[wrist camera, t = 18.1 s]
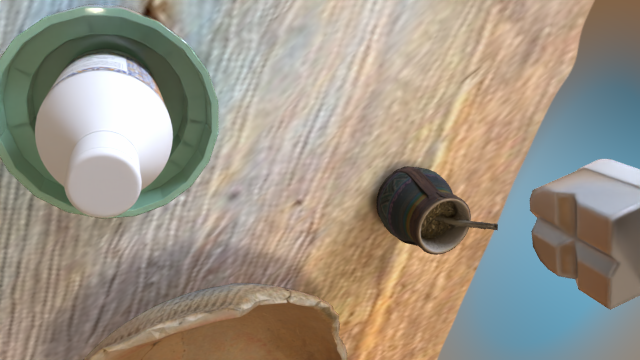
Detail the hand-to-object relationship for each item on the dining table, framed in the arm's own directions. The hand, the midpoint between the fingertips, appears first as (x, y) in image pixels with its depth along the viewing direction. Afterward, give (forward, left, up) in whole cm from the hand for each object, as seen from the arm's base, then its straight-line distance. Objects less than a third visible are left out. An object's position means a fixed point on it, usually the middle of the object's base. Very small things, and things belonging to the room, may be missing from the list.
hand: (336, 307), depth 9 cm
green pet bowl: (+2, -5, -35) cm, 35 cm away
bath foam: (+1, -5, -35) cm, 35 cm away
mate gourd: (+19, +17, -35) cm, 43 cm away
